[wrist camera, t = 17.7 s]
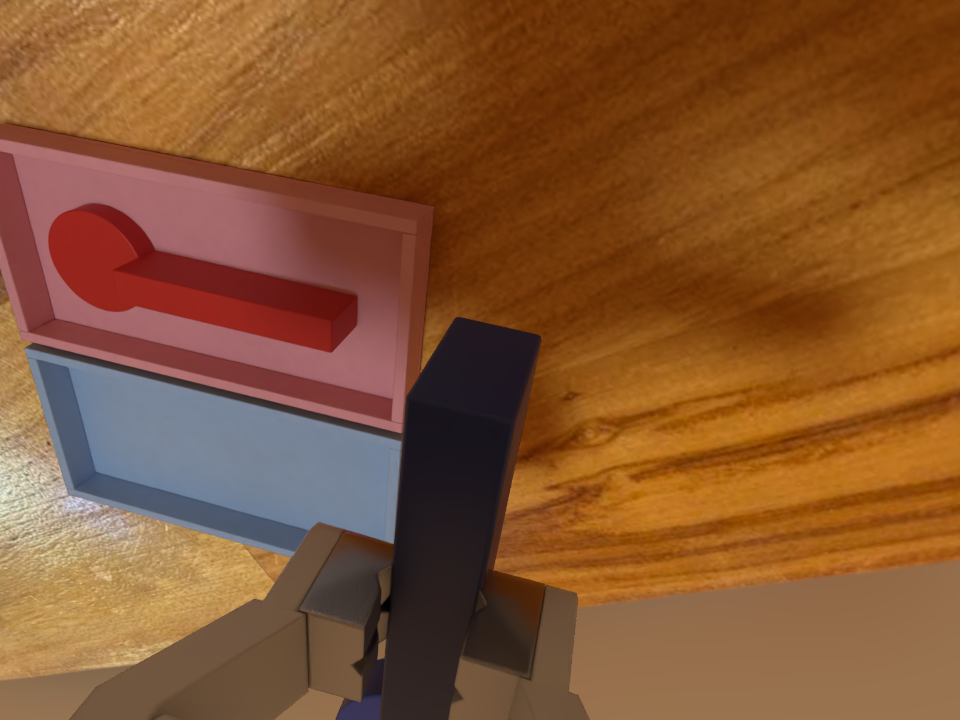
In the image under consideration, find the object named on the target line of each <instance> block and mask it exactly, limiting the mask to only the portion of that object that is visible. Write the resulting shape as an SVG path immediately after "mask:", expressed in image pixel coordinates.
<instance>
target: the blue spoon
mask: <svg viewBox="0 0 960 720" xmlns="http://www.w3.org/2000/svg"><path fill="white" fill-rule="evenodd" d="M541 341H542V340H541V336H539V335H537V334H533V333H528V332H524V331H520V330H515V329H511V328H506V327H502V326H497V325H493V324H488V323H484V322H480V321H475V320H471V319H466V318H462V317H456V318H455V319H454V321H453V322H452V324H451V325H450V327H449V329H448V330H447V332H446V333H445V335H444V337H443V338H442V340H441V341H440V343H439V345H438V346H437V348H436V350H435V351H434V353H433V354H432V356H431V358H430V359H429V361H428V362H427V364H426V366H425V367H424V369H423V370H422V372H421V374H420V375H419V377H418V378H417V380H416V382H415V383H414V385H413V387H412V388H411V390H410V391H409V393H408V395H407V396H406V404H405V416H404V428H403V440H402V452H401V465H400V477H399V489H398V501H397V513H396V526H395V538H394V550H393V570H392V585H391V594H390V599H389V612H390V613H389V624H388V635H387V638H386V648H385V658H383V659H379V660H377V664H376V666H375V669H374V671H373V674H372V676H371V678H370V681H369V683H368V686H367V688H366V691H365V693H364V695H363V698H362V700H361V702H357V701H354V700H350V699H347V698H344V700H343V703H342V705H341V707H340V709H339V712H338V714H337V717H336V720H449V714H450V708H451V703H452V699H453V695H454V691H455V686H454V685H455V680H456V675H457V670H458V664H459V659H460V655H461V651H462V648H463V644H464V641H465V637H466V633H467V630H468V626H469V622H470V619H471V616H472V615H473V614H474V611H475V606H476V601H477V596H478V591H479V590H481V589H482V588H483V585H484V582H485V578H486V575H487V572H488V569H490V570H493V569H494V564H495V559H496V555H497V550H498V545H499V540H500V536H501V531H502V526H503V521H504V517H505V512H506V507H507V502H508V498H509V493H510V488H511V483H512V479H513V474H514V469H515V464H516V460H517V455H518V450H519V445H520V441H521V436H522V431H523V426H524V422H525V417H526V412H527V407H528V403H529V398H530V393H531V388H532V383H533V379H534V374H535V369H536V364H537V360H538V355H539V350H540V345H541Z"/></svg>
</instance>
